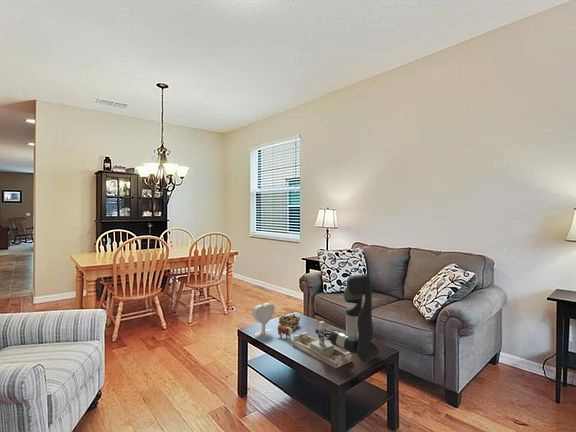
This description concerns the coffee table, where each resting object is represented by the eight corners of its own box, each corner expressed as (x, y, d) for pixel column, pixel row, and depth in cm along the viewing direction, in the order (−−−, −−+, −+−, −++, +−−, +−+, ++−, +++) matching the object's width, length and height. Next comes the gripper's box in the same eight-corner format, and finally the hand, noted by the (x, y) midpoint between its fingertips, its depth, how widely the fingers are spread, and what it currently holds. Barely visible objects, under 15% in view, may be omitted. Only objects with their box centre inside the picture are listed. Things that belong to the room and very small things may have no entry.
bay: (307, 341, 192) (307, 331, 192) (351, 363, 166) (351, 351, 166) (292, 346, 185) (292, 336, 184) (335, 370, 158) (335, 358, 158)
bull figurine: (290, 343, 189) (290, 329, 189) (276, 336, 199) (276, 323, 199) (295, 341, 192) (295, 328, 192) (281, 334, 202) (281, 321, 202)
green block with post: (320, 347, 181) (321, 318, 180) (333, 354, 173) (334, 323, 173) (309, 351, 176) (310, 321, 175) (322, 358, 168) (323, 326, 167)
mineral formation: (276, 325, 217) (293, 319, 227) (288, 335, 207) (305, 328, 216) (277, 314, 216) (294, 309, 225) (289, 323, 206) (306, 317, 215)
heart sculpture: (256, 336, 199) (256, 307, 198) (251, 334, 202) (251, 305, 202) (275, 330, 209) (275, 303, 209) (270, 328, 213) (270, 301, 212)
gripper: (350, 329, 167) (327, 320, 181) (332, 336, 158) (308, 326, 172) (350, 344, 167) (327, 333, 181) (332, 351, 158) (308, 339, 172)
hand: (318, 330), depth 176 cm, fingers closed on green block with post, 3 cm apart
